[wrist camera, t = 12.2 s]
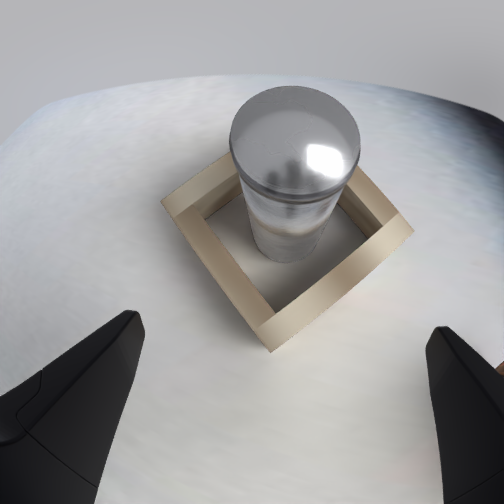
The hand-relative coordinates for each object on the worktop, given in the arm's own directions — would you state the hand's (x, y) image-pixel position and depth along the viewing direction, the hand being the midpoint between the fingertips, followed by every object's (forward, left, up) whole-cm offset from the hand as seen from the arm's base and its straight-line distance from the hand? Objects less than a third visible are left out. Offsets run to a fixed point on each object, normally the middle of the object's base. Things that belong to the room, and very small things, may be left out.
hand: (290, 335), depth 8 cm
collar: (+4, +5, -11) cm, 13 cm away
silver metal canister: (+4, +5, -11) cm, 13 cm away
